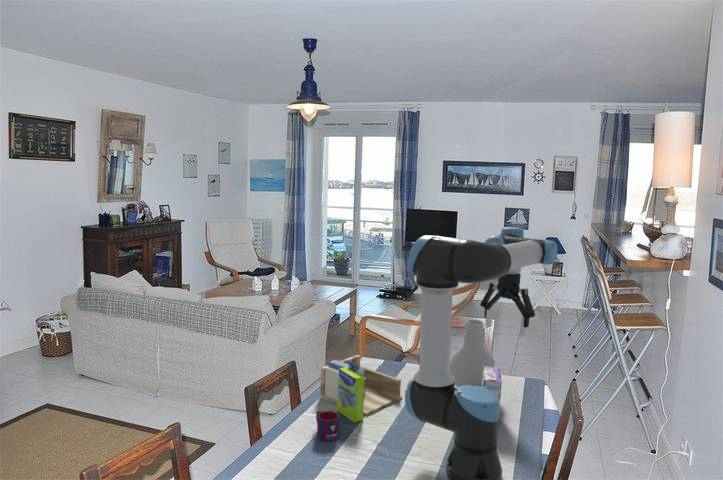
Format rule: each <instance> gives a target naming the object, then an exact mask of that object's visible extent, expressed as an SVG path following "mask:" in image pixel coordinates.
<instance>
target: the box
mask: <svg viewBox="0 0 723 480" xmlns="http://www.w3.org/2000/svg"><path fill="white" fill-rule="evenodd" d="M354 367H356V368H357V369H358V370H359V371H357V370H356V369H354ZM364 375H365V370H364V369H362V368H360V367H358V366H356V365H355V364H353V363H351V362H349V361H348V367H344V368H340V369H339V385H338V404H337V412H338V411H339V412H338V413H339V414H341V413H342V415H343V416H344V417H345V416H346V417H345V418H347V419H348V420H349V421H351V422H352V421H353V423H358V421H359V422H361V421H363V420H364V414H363V411H364Z"/></svg>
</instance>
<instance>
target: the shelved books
mask: <svg viewBox="0 0 723 480" xmlns="http://www.w3.org/2000/svg"><path fill="white" fill-rule="evenodd" d="M340 361H341V360H338V359H334V360H333V359H332V360H331V361H328V365H329V366H328V367H325V396H328V397H330V398H333V399H335V400H338V385H339V369H340V368H344V367H348V364H346V363H343V362H340Z"/></svg>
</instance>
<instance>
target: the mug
mask: <svg viewBox="0 0 723 480" xmlns="http://www.w3.org/2000/svg"><path fill="white" fill-rule="evenodd" d="M315 418H316V419H315V420H316V438H317V439H318V440H319V441H321V442H330V441H331V442H335V441H336V440H338V439H339V437H340V413H339V412H336V411H333V410H324V411H322V410H317V411H316V414H315Z"/></svg>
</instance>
